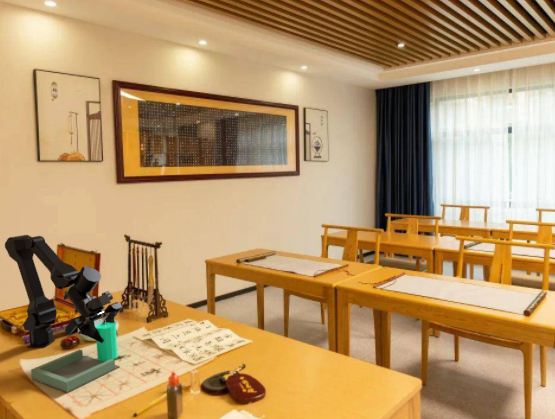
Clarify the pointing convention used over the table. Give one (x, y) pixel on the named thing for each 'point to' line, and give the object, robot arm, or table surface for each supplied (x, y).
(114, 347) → the candle
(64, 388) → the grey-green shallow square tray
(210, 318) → the table surface
